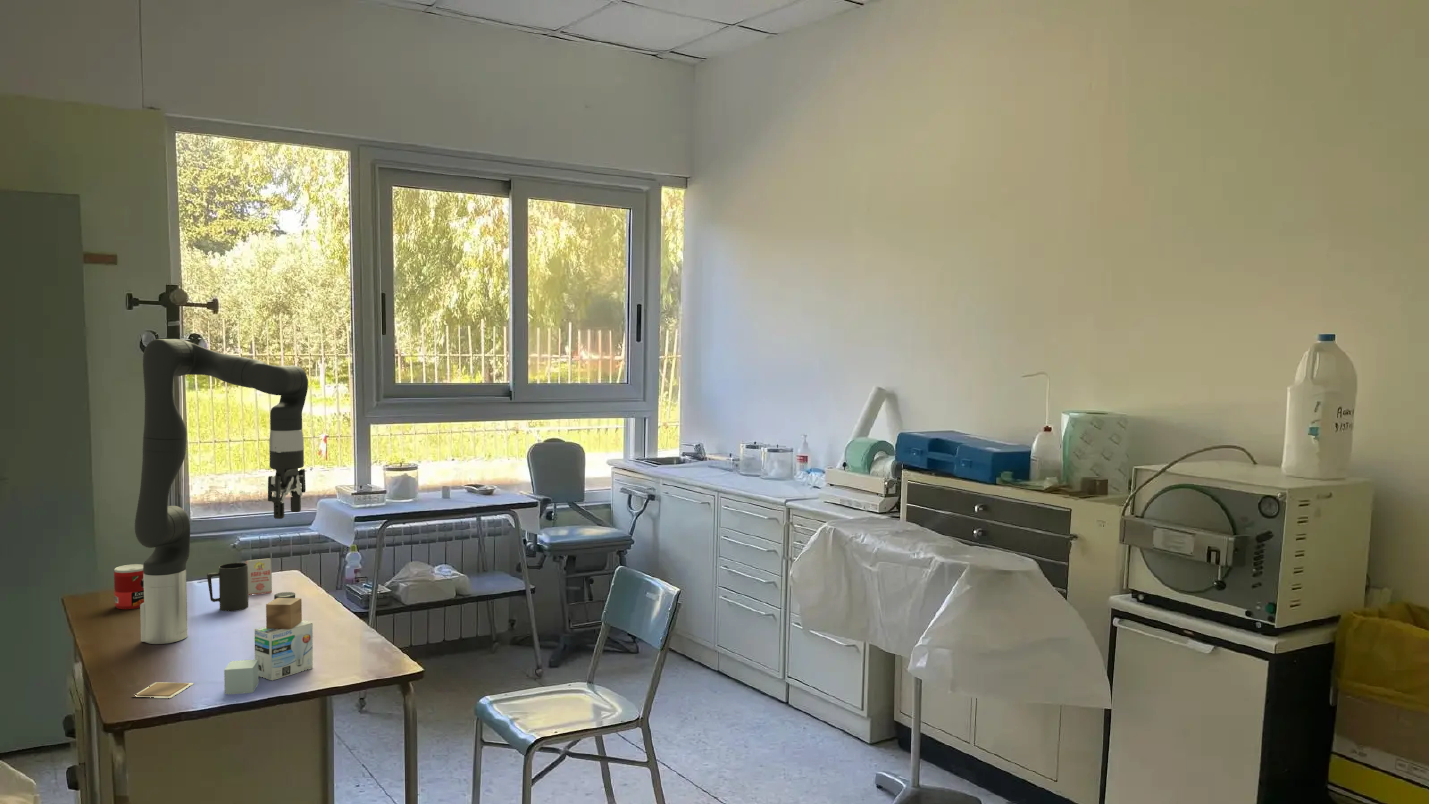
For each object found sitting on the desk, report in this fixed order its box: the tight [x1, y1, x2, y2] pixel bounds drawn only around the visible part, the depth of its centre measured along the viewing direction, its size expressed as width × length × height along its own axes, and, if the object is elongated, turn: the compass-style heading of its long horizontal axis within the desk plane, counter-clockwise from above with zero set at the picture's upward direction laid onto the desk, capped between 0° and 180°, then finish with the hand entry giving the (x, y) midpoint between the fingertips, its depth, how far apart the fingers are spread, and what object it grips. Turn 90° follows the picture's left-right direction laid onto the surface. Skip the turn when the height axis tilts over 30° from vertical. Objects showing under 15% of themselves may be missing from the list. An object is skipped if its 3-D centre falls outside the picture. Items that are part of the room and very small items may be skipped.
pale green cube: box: [223, 659, 260, 695], centre depth 202 cm, size 6×6×6 cm
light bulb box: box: [254, 619, 314, 681], centre depth 213 cm, size 11×7×11 cm, turn 148°
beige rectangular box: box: [244, 557, 273, 596], centre depth 278 cm, size 4×7×10 cm, turn 122°
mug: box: [206, 562, 249, 612], centre depth 261 cm, size 10×7×12 cm
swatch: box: [134, 681, 194, 699], centre depth 200 cm, size 8×8×1 cm
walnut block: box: [265, 597, 303, 629], centre depth 212 cm, size 6×6×6 cm
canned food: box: [113, 563, 144, 610], centre depth 263 cm, size 8×8×11 cm
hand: (287, 515), depth 226 cm, fingers open, 8 cm apart
